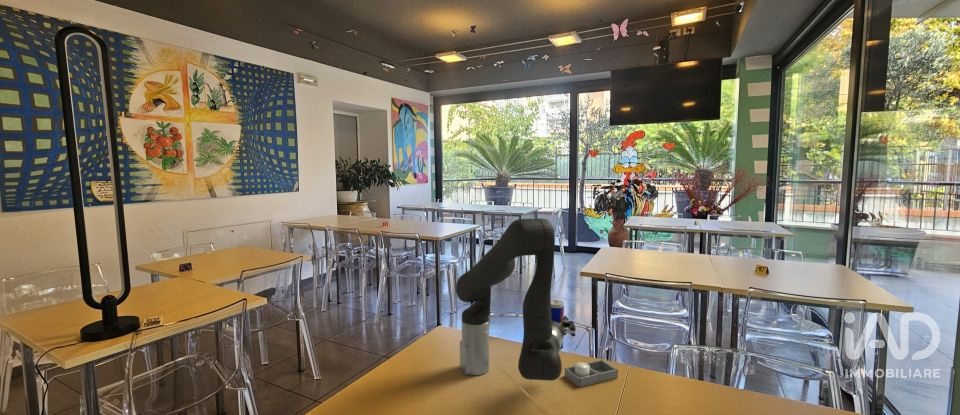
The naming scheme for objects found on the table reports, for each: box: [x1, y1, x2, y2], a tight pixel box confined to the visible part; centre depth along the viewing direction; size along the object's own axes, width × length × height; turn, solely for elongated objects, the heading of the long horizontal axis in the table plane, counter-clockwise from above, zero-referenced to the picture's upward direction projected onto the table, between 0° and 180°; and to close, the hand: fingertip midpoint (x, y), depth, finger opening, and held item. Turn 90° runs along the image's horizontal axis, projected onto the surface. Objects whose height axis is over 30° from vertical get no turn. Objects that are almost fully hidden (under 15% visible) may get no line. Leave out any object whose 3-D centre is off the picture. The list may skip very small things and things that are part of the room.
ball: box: [574, 361, 590, 378], centre depth 134 cm, size 5×5×4 cm
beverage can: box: [551, 299, 565, 352], centre depth 132 cm, size 5×5×15 cm
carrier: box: [564, 359, 619, 388], centre depth 135 cm, size 15×8×4 cm, turn 113°
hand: (556, 317), depth 134 cm, fingers closed on beverage can, 5 cm apart
